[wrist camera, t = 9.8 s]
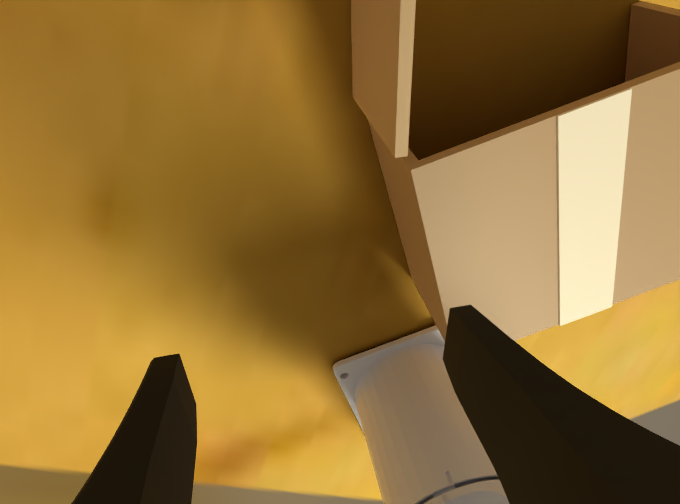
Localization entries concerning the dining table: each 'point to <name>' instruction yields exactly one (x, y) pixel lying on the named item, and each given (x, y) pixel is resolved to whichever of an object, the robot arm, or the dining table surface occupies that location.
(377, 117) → the side flap
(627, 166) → the carton
